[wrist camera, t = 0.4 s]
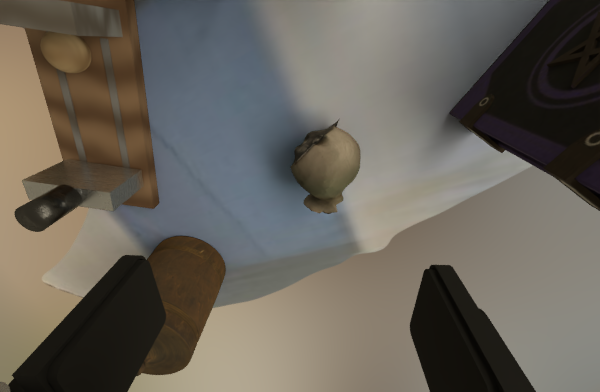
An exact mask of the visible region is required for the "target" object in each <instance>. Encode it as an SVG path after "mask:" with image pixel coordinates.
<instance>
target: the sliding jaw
mask: <svg viewBox="0 0 600 392" xmlns="http://www.w3.org/2000/svg"><path fill="white" fill-rule="evenodd" d="M22 182H23V185H24V187H25V190H26V192H27V195H28V198H29V199H31V200H32V201H30V202H28V203H26V204H25V205H23V206H21V207H19V208H17V209H16V211H15V217H16V219H17V221H18V222H19V223H20V224H21V225H22V226H23V227H25V228H26V229H28V230H31V231H35V232H40V231H43V230H45V229H46V228H47V227H49V226H50V225H52V224H53V223H54V222H56V221H58V220H59V219H60V218H62V217H63V216H65V215H66V214H68V213H69V212H71V211H72V210H74V209H75V208H77V207H78V206H81V207H88V208H95V209H102V210H109V211H114V210H116V209H117V208H118V207H119V206H120V205H122V204H123V203H124V202H125V201H126V200H128V199H129V198H130V197H131V196H132V195H134V194H135V193H136V192H137V191H139V190H140V189H141V188H142V187H143V186H144V185H143V178H142V171H141V170H139V169H132V168H125V167H118V166H111V165H104V164H97V163H90V162H83V161H76V160H69V159H67V160H65V161H62V162H60V163H58V164H56V165H54V166H52V167H50V168H47V169H45V170H43V171H41V172H39V173H37V174H35V175H32V176H30V177H28V178H26V179H24V180H22Z"/></svg>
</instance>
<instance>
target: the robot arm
mask: <svg viewBox="0 0 600 392" xmlns="http://www.w3.org/2000/svg"><path fill="white" fill-rule="evenodd" d="M165 320H166V312H165V309H164V306H163V303H162V299H161V296H160V293H159V290H158V287H157V284H156V281H155V278H154V275H153V271H152V268H151V265H150V263H149V261H148V260H146V259H145V257H143V256H135V255H125V256H122V257H121V258H120V259H119V260H118V261H117V262H116V263H115V265H114V266H113V267H112V268H111V269H110V270H109V271H108V272H107V273H106V274H105V275H104V276H103V277H102V279H101V280H100V281H99V282H98V283H97V284H96V285H95V286H94V287H93V288H92V289H91V290H90V291H89V293H88V294H87V295H86V296H85V297H84V298H83V299H82V300H81V301H80V302H79V304H77V306H76V307H75V308H74V309H73V310H72V311H71V312H70V313H69V314H68V315H67V316H66V317H65V318H64V320H63V321H62V322H61V323H60V324H59V325H58V326H57V327H56V328H55V329H54V330H53V331H52V332H51V334H50V335H49V336H48V337H47V338H46V339H45V340H44V341H43V342H42V343H41V344H40V345H39V346H38V348H37V349H36V350H35V351H34V352H33V353H32V354H31V355H30V356H29V357H28V358H27V360H26V361H25V362H24V363H23V364H22V365H21V366H20V367H19V368H18V369H17V370H16V371H15V372H14V373H13V375H12V376H13V377H14V379H13V380H12V381H11V382H10V383H9V385H7V384H6V383H4V382H0V392H127V391H128V390H129V388H130V386H131V384H132V382H133V380H134V378H135V377H136V375H137V373H138V371H139V369H140V368H141V366H142V364H143V362H144V360H145V358H146V357H147V355H148V353H149V351H150V349H151V348H152V346H153V344H154V342H155V340H156V338H157V337H158V335H159V333H160V331H161V329H162V327H163V326H164V323H165ZM410 332H411V336H412V339H413V342H414V345H415V348H416V351H417V354H418V357H419V360H420V363H421V366H422V369H423V372H424V374H425V378H426V381H427V384H428V387H429V390H430V392H536V391H535V390H534V388H533V386H532V385H531V383H530V382H529V380H528V379H527V377H526V376H525V374H524V373H523V371H522V370H521V368H520V367H519V365H518V363H517V362H516V360H515V358H514V357H513V355H512V354H511V352H510V351H509V349H508V348H507V346H506V345H505V343H504V341H503V340H502V338H501V337H500V335H499V333H498V332H497V330H496V329H495V327H494V326H493V324H492V323H491V321H490V319H489V318H488V317H487V315H486V314H485V313H484V311H482V310H481V309H479V308H478V307H477V305H476V304H475V302H474V301H473V299H472V297H471V296H470V294H469V293H468V291H467V289H466V288H465V286H464V285H463V283H462V281H461V280H460V278H459V277H458V275H457V273H456V272H455V271H454V269H453V267H451V266H450V265H431V266H430V268H429V269H425V271H424V273H423V277H422V281H421V285H420V288H419V292H418V296H417V300H416V304H415V307H414V311H413V314H412V318H411V322H410Z"/></svg>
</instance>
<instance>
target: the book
mask: <svg viewBox="0 0 600 392" xmlns="http://www.w3.org/2000/svg"><path fill="white" fill-rule="evenodd" d="M450 114H451V115H452V116H454V117H456V118H458V119H460V121H459V122H460V123H461V124H462V125H464V126H465V127H466V128H468V129H469V130H470V131H472V132H473V133H474V134H476V135H477V136H478V137H479V138H481V139H482V140H483V141H485V142H486V143H487V144H489V145H490V146H491V147H493V148H494V149H496V150H498V151H499V152H501V153H503V152H504V151H505V150H507V151H509V152H510V153H512V154H514V155H516V156H518V157H519V158H521V159H523V160H525V161H526V162H528V163H530V164H532V165H534V166H536V167H537V168H539V169H541V170H543V171H544V172H546V173H548V174H550V175H551V176H553V177H555V178H556V179H557V180H559V181H560V182H561V183H563V184H564V185H565V186H566V187H568V188H569V189H570V190H572V191H573V192H574V193H575V194H577V195H578V196H579V197H581V198H582V199H583V200H584V201H586V202H587V203H588V204H589V205H591V206H592V207H594V208H596V209H598V210H599V211H600V0H550V1H549V2H548V3H547V4H546V5H545V6H544V7H543V8H542V10H541V11H540V12H539V13H538V14H537V15H536V16H535V17H534V19H533V20H532V21H531V22H530V23H529V24H528V25H527V26H526V27H525V29H524V30H523V31H522V32H521V33H520V34H519V35H518V36H517V38H516V39H515V40H514V41H513V42H512V43H511V44H510V45H509V47H508V48H507V49H506V50H505V51H504V52H503V53H502V54H501V56H500V57H499V58H498V59H497V60H496V61H495V62H494V63H493V65H492V66H491V67H490V68H489V69H488V70H487V71H486V72H485V73H484V75H483V76H482V77H481V78H480V79H479V80H478V81H477V82H476V84H475V85H474V86H473V87H472V88H471V89H470V90H469V91H468V93H467V94H466V95H465V96H464V97H463V98H462V99H461V100H460V102H459V103H458V104H457V105H456V106H455V107H454V108H453V109H452V111H451V112H450Z"/></svg>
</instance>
